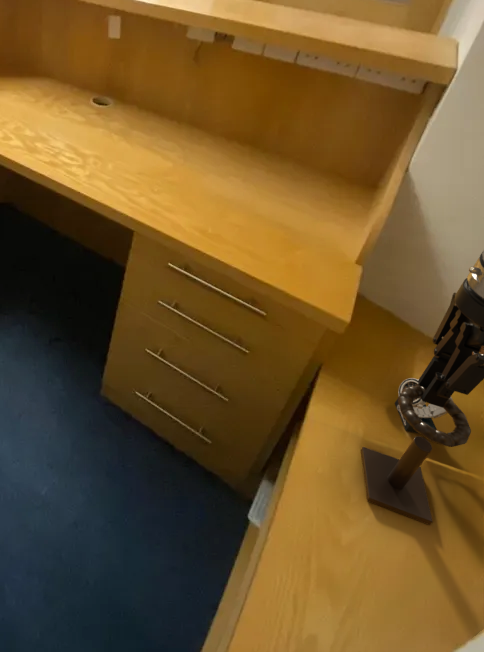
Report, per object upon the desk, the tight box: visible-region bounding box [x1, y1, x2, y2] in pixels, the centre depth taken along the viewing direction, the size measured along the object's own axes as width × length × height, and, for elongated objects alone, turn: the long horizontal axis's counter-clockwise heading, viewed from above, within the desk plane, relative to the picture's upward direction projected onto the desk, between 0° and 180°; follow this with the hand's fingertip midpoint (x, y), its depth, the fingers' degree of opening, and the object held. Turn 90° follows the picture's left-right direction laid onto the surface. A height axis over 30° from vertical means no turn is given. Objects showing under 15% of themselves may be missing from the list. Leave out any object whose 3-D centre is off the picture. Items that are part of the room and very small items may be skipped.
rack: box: [360, 435, 433, 526], centre depth 84 cm, size 9×9×13 cm
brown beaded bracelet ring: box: [397, 385, 472, 448], centre depth 80 cm, size 9×9×2 cm
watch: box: [394, 377, 454, 435], centre depth 94 cm, size 6×8×11 cm
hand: (429, 394), depth 82 cm, fingers closed on brown beaded bracelet ring, 2 cm apart
